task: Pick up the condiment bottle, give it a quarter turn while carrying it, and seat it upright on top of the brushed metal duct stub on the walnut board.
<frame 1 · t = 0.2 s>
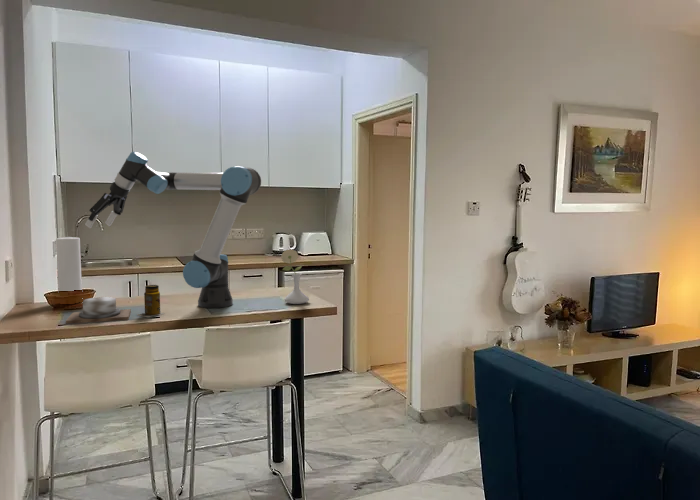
hand: (97, 225, 228), 36 cm above the breakfast bar, tool tilted 35°, fingers open, 13 cm apart
duct base: (100, 317, 211), on the breakfast bar
cylinder container: (71, 303, 240), on the breakfast bar
flower in vase: (295, 303, 242), on the breakfast bar
condiment: (150, 315, 218), on the breakfast bar
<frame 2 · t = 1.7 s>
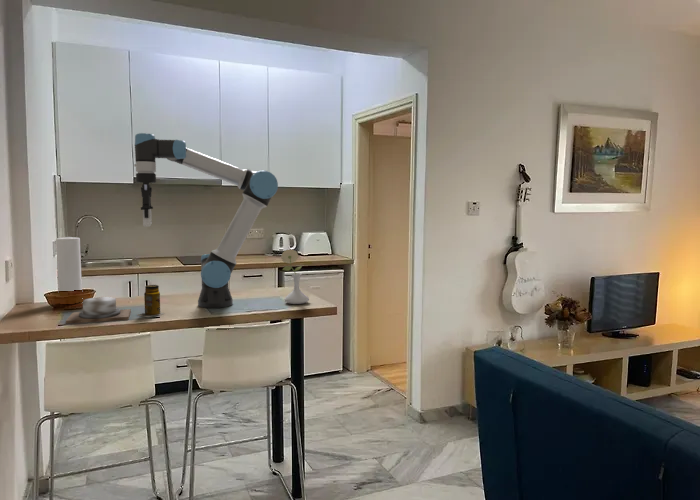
hand: (147, 225, 214), 37 cm above the breakfast bar, tool pointing down, fingers open, 13 cm apart
nothing on the breakfast bar moved.
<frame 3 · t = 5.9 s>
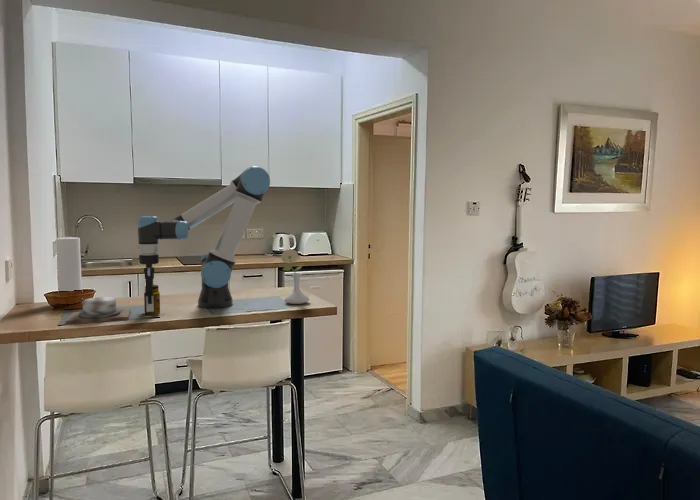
hand: (150, 309, 217), 2 cm above the breakfast bar, tool pointing down, fingers closed on condiment, 6 cm apart
condiment: (150, 315, 217), on the breakfast bar, touching gripper
everything else where it was.
when the fingers open (10 cm above the breakfast bar, at t = 11.2 s): condiment drops 1 cm, resting on duct base.
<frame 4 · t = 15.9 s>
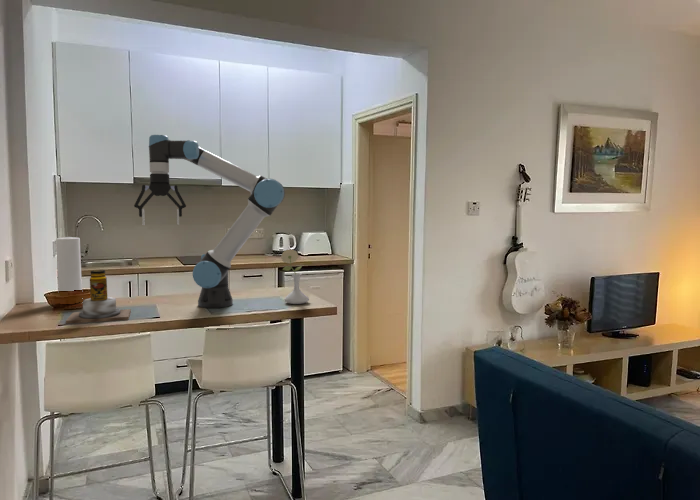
hand: (161, 224, 219), 37 cm above the breakfast bar, tool pointing down, fingers open, 13 cm apart
condiment: (98, 300, 210), point 7 cm above the breakfast bar, touching duct base
everything else where it was.
at the end: condiment inside the target area on the duct base (0.5 cm from its centre), point 7.0 cm above the duct base's base; condiment tilted 0°; the gripper is holding nothing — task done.
